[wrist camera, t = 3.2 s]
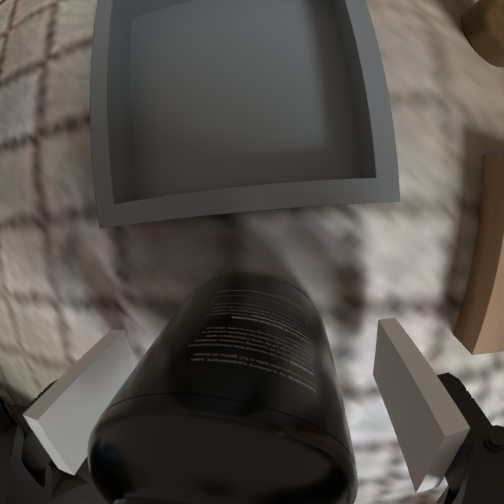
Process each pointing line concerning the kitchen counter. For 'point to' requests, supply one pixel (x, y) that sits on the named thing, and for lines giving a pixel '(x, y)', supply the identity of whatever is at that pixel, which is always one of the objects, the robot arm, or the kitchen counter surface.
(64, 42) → the kitchen counter surface
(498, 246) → the tan cardboard box
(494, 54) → the cylinder
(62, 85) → the kitchen counter surface
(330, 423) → the supplement bottle
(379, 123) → the tray
